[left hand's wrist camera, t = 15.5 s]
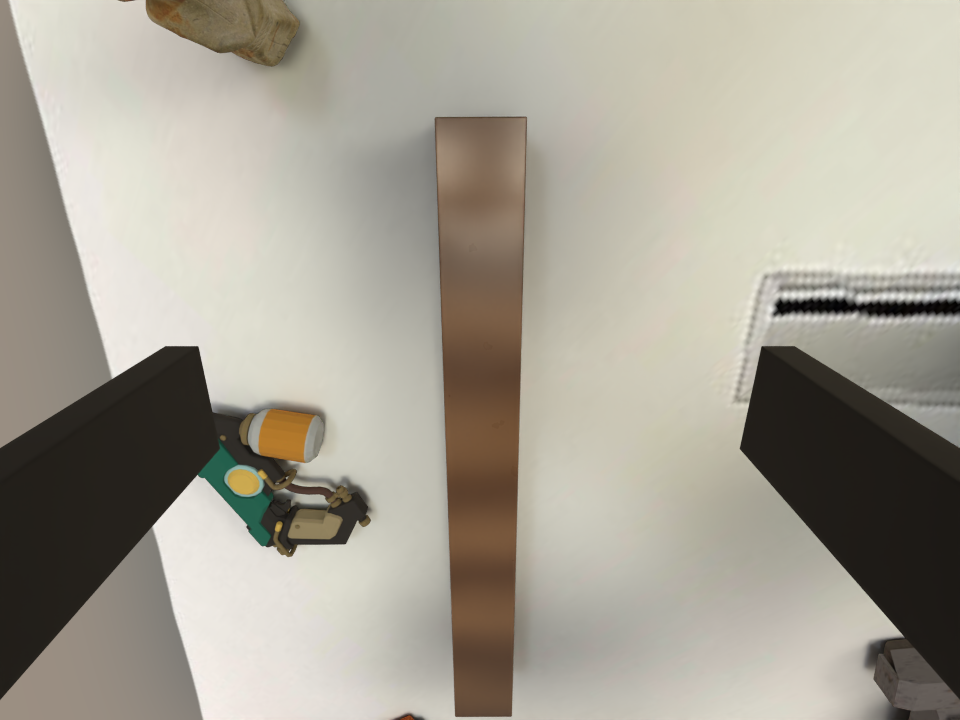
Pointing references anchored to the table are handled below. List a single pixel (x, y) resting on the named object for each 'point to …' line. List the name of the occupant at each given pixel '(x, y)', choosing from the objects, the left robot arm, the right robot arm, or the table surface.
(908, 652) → the toy
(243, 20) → the sculpture
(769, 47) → the table surface
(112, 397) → the left robot arm
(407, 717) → the toy gun
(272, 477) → the spray gun
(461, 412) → the beam
